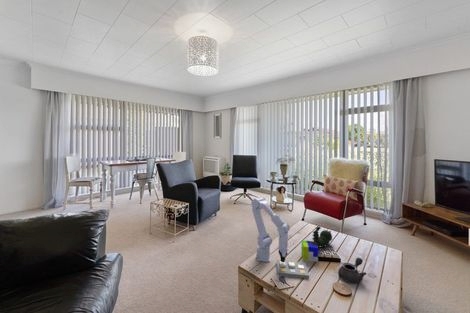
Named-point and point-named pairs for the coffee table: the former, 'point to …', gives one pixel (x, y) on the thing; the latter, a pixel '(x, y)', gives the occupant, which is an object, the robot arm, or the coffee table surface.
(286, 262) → the button board
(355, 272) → the teapot
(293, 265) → the button middle
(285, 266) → the button left
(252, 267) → the coffee table surface
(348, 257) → the coffee table surface
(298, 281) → the coffee table surface
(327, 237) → the green cactus plant
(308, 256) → the puzzle toy
